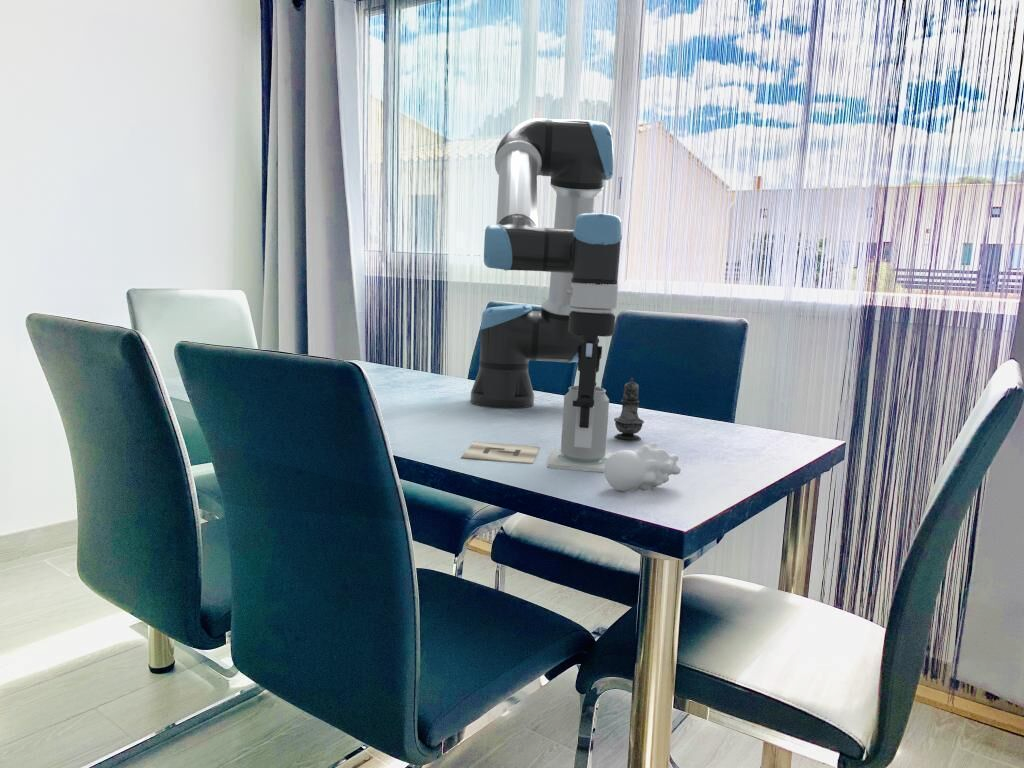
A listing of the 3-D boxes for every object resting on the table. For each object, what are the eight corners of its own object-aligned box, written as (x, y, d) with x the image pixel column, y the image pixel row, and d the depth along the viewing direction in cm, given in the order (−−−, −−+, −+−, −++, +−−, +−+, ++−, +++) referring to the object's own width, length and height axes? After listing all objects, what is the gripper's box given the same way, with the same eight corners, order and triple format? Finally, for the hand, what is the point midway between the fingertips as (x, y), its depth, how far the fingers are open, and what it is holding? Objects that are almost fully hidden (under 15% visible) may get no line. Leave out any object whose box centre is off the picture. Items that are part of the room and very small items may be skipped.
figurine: (589, 466, 113) (651, 455, 119) (606, 506, 110) (670, 493, 116) (609, 443, 108) (674, 432, 114) (628, 484, 105) (693, 471, 111)
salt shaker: (606, 437, 147) (610, 376, 145) (623, 433, 151) (628, 374, 149) (631, 443, 143) (636, 380, 141) (648, 439, 147) (653, 378, 145)
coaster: (552, 451, 132) (552, 448, 132) (615, 457, 131) (615, 453, 131) (547, 467, 121) (547, 463, 121) (615, 473, 120) (615, 469, 120)
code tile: (473, 442, 136) (474, 441, 136) (539, 447, 135) (539, 446, 135) (461, 458, 125) (461, 456, 125) (532, 464, 123) (532, 462, 123)
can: (603, 465, 122) (608, 392, 120) (557, 461, 123) (561, 389, 121) (606, 455, 129) (611, 386, 127) (563, 451, 130) (567, 382, 129)
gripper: (573, 306, 135) (566, 422, 138) (564, 313, 111) (556, 453, 114) (615, 308, 134) (607, 425, 137) (616, 316, 110) (606, 457, 113)
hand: (584, 438), depth 126 cm, fingers open, 13 cm apart
